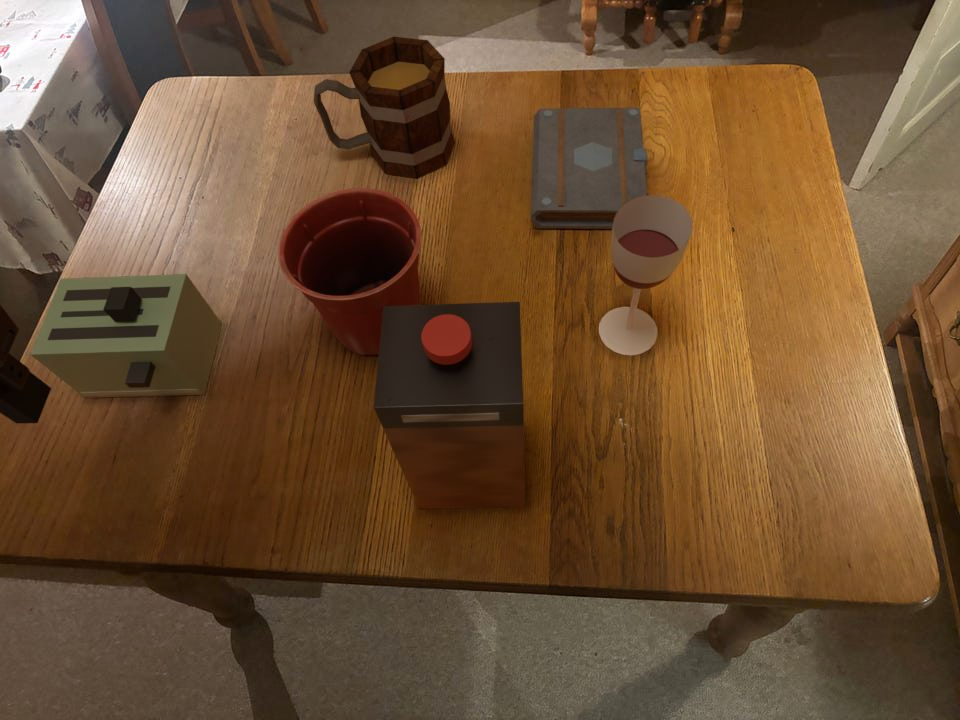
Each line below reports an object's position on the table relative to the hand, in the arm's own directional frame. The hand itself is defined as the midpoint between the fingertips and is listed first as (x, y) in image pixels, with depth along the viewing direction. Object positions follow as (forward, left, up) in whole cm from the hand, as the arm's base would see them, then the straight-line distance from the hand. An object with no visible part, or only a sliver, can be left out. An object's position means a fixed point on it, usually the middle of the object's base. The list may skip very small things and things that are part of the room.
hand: (34, 405), depth 45 cm
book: (+68, +18, -34) cm, 78 cm away
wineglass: (+54, -7, -34) cm, 65 cm away
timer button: (+27, -10, -7) cm, 30 cm away
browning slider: (+4, +27, -23) cm, 36 cm away
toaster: (+1, +27, -34) cm, 44 cm away
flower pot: (+29, +15, -34) cm, 48 cm away
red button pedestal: (+27, -10, -34) cm, 45 cm away
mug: (+48, +41, -34) cm, 72 cm away
